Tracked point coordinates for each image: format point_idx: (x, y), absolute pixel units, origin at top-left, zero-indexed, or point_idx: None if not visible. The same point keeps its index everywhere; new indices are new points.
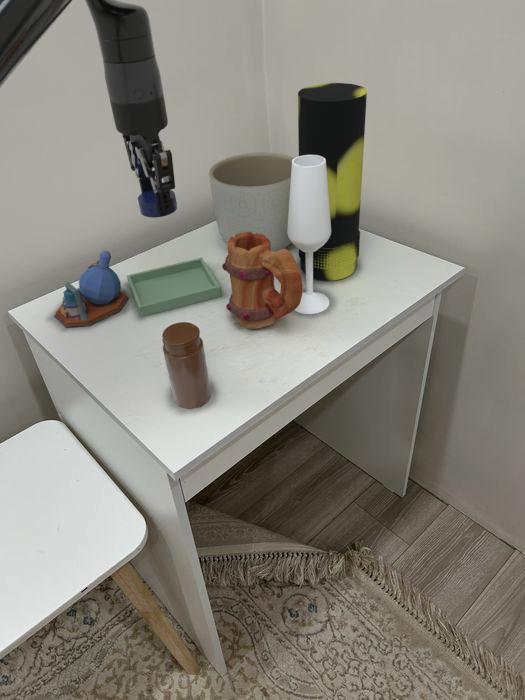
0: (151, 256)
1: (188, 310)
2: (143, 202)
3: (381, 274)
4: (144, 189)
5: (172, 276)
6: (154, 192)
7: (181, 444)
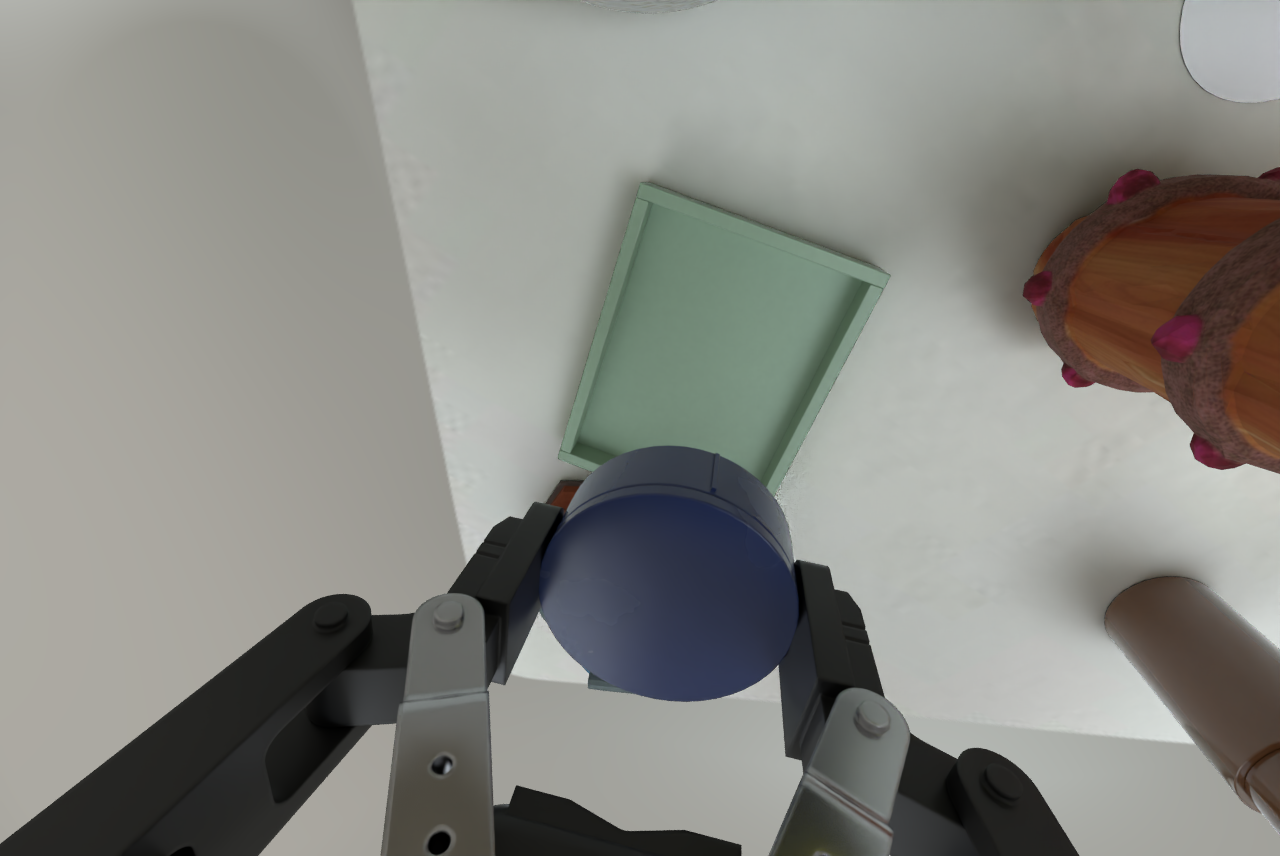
0: (443, 287)
1: (845, 401)
2: (688, 698)
3: None
4: (533, 615)
5: (636, 325)
6: (791, 754)
7: None
